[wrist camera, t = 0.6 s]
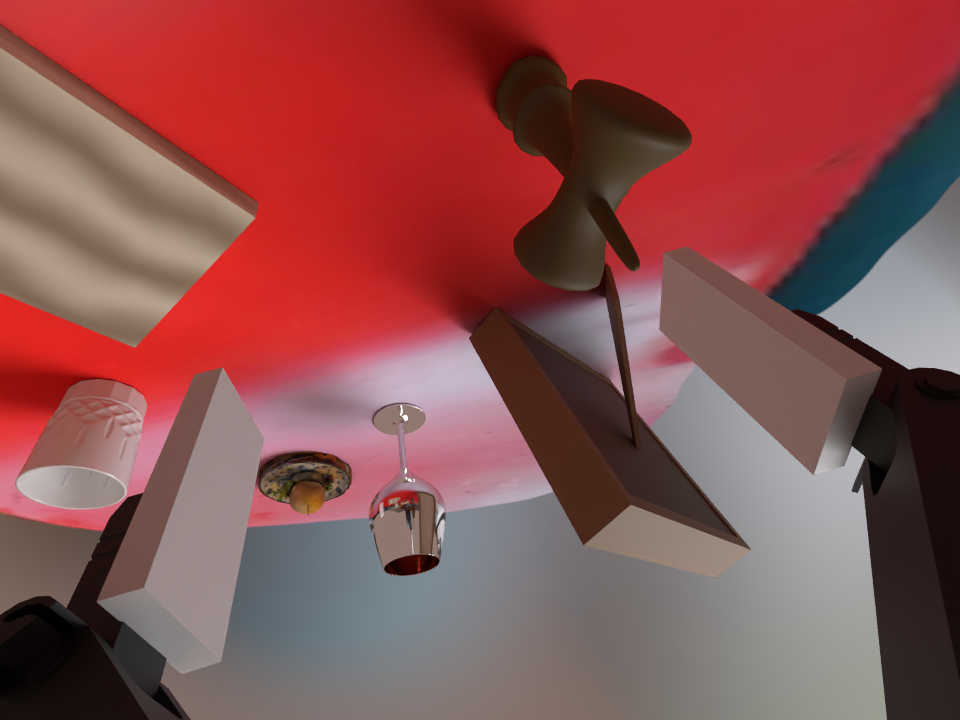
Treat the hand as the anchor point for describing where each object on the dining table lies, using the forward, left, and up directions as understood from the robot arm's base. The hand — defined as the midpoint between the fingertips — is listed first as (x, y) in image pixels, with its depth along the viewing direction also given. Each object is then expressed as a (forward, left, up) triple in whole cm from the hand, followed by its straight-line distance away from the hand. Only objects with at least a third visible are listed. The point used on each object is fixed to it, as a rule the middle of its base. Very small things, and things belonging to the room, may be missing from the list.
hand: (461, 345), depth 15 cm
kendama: (-5, +8, -26) cm, 28 cm away
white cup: (+44, +2, -26) cm, 51 cm away
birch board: (+24, -9, -26) cm, 37 cm away
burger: (+46, +27, -27) cm, 60 cm away
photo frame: (+5, +33, -26) cm, 42 cm away
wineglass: (+29, +28, -26) cm, 48 cm away
